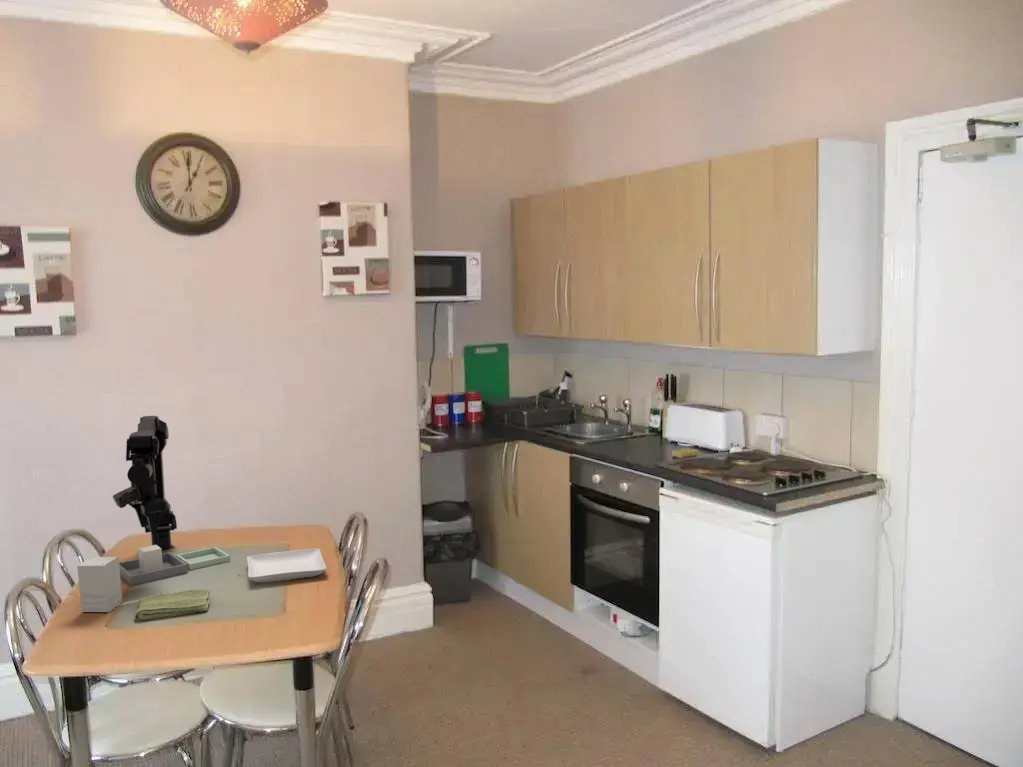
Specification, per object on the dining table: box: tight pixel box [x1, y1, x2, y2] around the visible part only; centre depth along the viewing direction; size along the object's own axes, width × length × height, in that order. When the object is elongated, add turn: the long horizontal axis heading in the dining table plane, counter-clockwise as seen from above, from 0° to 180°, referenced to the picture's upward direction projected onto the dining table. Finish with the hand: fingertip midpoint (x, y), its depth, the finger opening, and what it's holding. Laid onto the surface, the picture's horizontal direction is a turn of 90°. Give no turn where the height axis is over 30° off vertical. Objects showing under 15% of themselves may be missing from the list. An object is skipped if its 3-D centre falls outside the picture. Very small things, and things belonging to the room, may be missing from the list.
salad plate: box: [246, 547, 327, 583], centre depth 247 cm, size 21×21×3 cm
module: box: [137, 544, 163, 573], centre depth 247 cm, size 5×5×7 cm
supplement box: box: [76, 556, 123, 613], centre depth 221 cm, size 7×7×13 cm
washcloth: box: [134, 589, 211, 622], centre depth 220 cm, size 13×18×3 cm
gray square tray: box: [119, 551, 189, 586], centre depth 247 cm, size 16×16×3 cm
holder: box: [175, 546, 232, 571], centre depth 257 cm, size 12×12×2 cm
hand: (148, 530), depth 246 cm, fingers open, 9 cm apart
